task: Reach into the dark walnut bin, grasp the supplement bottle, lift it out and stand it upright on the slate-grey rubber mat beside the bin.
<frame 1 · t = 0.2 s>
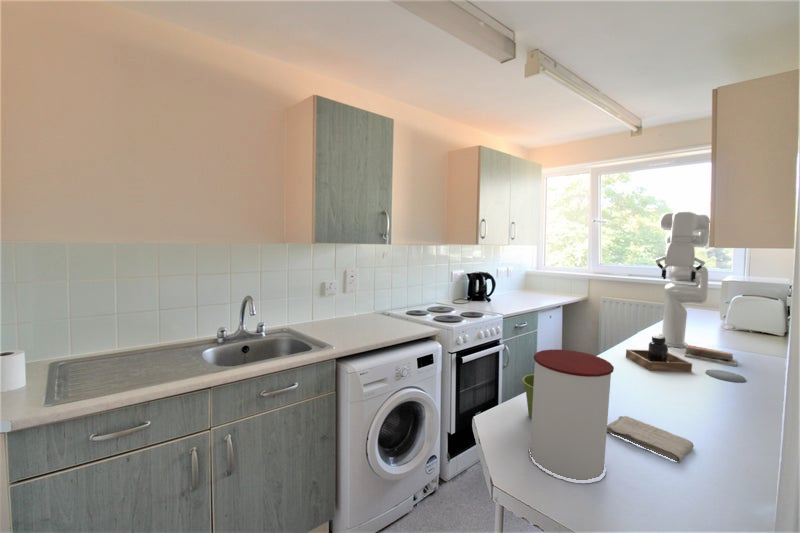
hand: (677, 279, 162), 37 cm above the counter, tool pointing down, fingers open, 9 cm apart
packaged product: (709, 360, 170), on the counter
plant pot: (541, 418, 111), on the counter
mat: (724, 376, 148), on the counter
supplement bottle: (656, 364, 161), resting in bin
washcloth: (647, 442, 100), on the counter
container: (565, 461, 90), on the counter
bin: (656, 364, 161), on the counter
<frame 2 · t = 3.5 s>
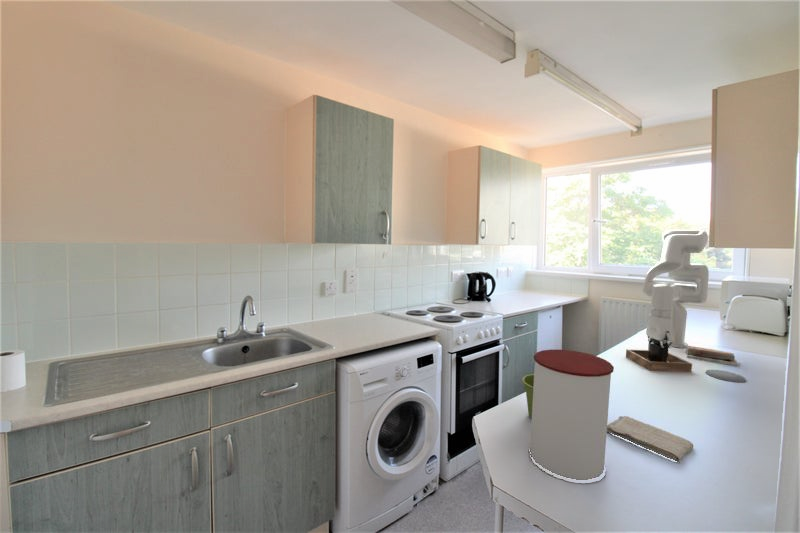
hand: (657, 353, 160), 5 cm above the counter, tool pointing down, fingers closed on supplement bottle, 6 cm apart
supplement bottle: (656, 364, 161), resting in bin, touching gripper
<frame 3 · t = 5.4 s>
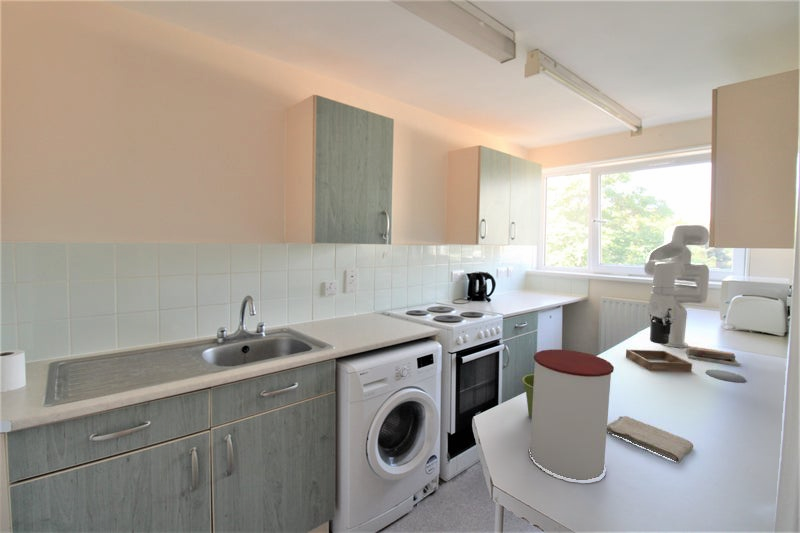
hand: (659, 331, 160), 14 cm above the counter, tool pointing down, fingers closed on supplement bottle, 6 cm apart
supplement bottle: (658, 342, 161), point 9 cm above the counter, touching gripper
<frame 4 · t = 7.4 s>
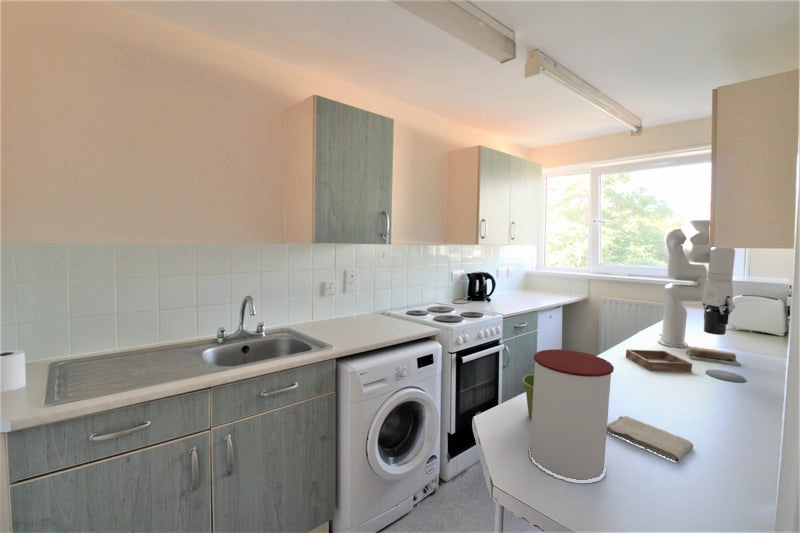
hand: (715, 321, 149), 22 cm above the counter, tool pointing down, fingers closed on supplement bottle, 6 cm apart
supplement bottle: (714, 333, 149), point 17 cm above the counter, touching gripper
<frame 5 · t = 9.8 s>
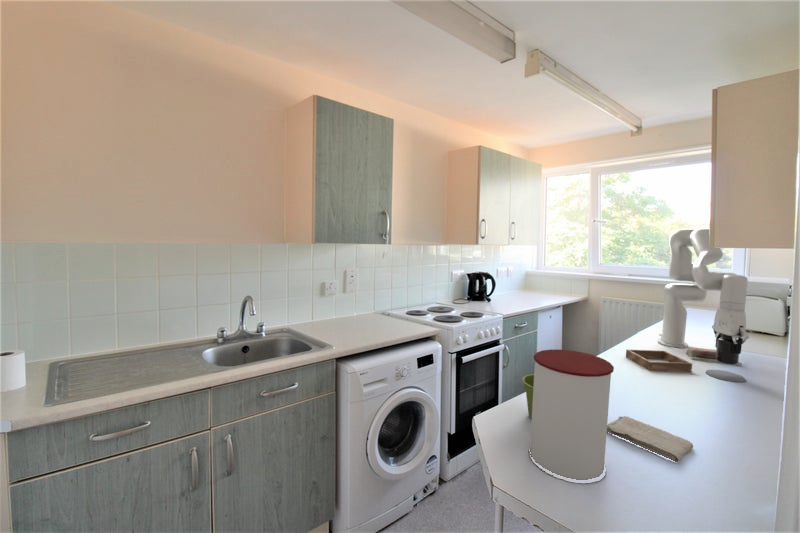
hand: (727, 350, 147), 11 cm above the counter, tool pointing down, fingers closed on supplement bottle, 6 cm apart
supplement bottle: (726, 362, 147), point 6 cm above the counter, touching gripper
when the fingers open (7 cm above the counter, at t = 11.6 s): supplement bottle drops 1 cm, resting on mat.
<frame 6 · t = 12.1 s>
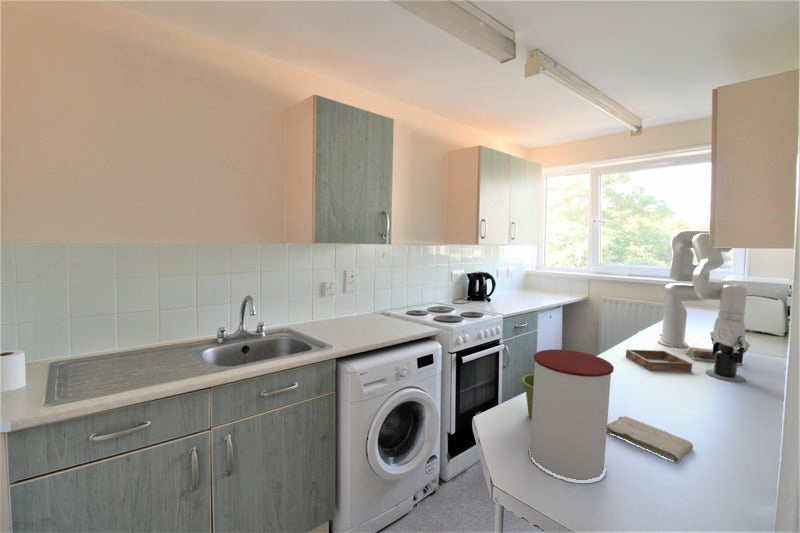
hand: (726, 358, 147), 7 cm above the counter, tool pointing down, fingers open, 9 cm apart
supplement bottle: (724, 375, 148), resting on mat
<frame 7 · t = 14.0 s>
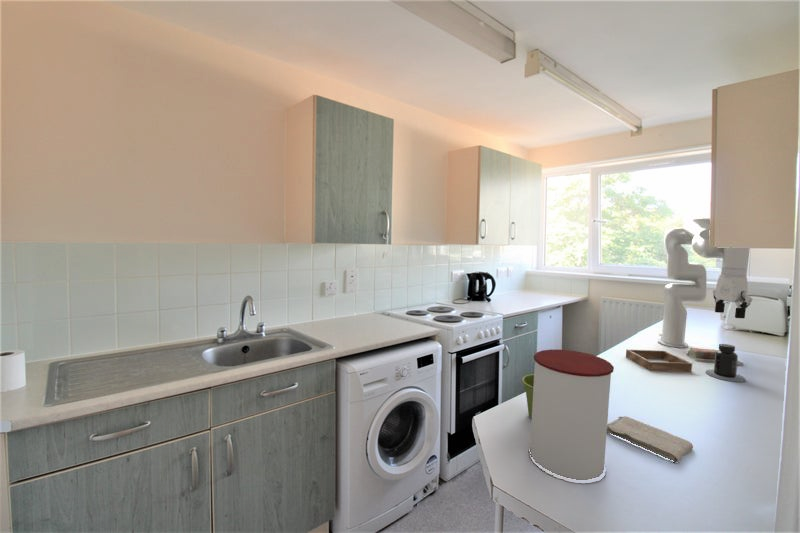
hand: (729, 315, 148), 24 cm above the counter, tool pointing down, fingers open, 9 cm apart
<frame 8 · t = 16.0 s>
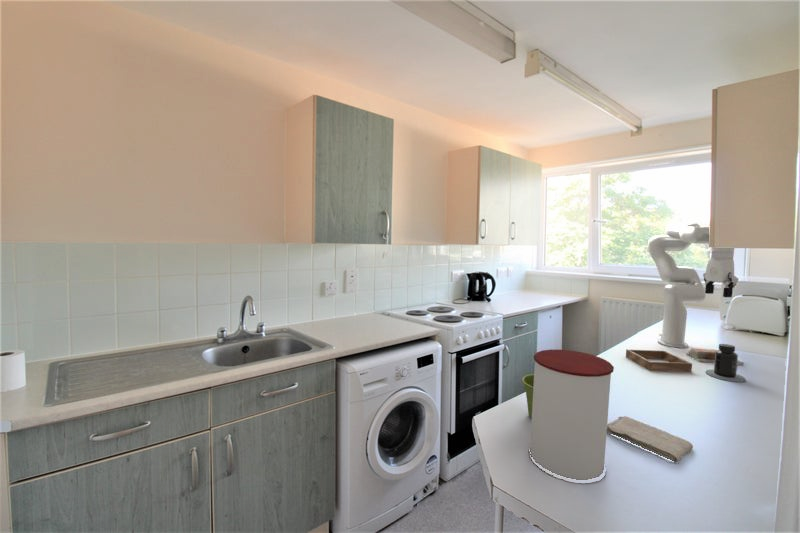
hand: (718, 295, 161), 30 cm above the counter, tool pointing down, fingers open, 9 cm apart
at the end: supplement bottle inside the target area on the mat (0.3 cm from its centre), point 0.3 cm above the mat's base; supplement bottle tilted 0°; the gripper is holding nothing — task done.
